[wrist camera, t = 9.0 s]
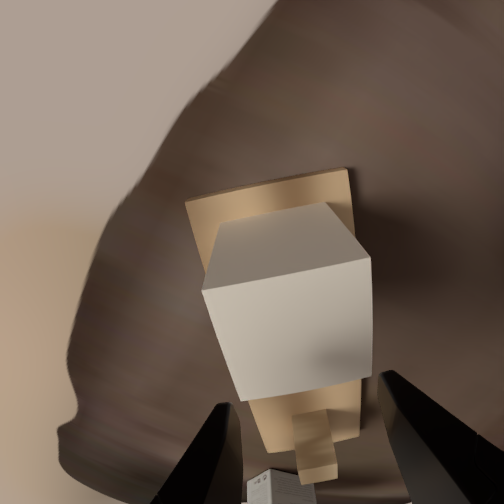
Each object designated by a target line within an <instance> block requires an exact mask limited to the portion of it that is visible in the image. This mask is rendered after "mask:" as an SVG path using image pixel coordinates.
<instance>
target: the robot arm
mask: <svg viewBox="0 0 504 504" xmlns="http://www.w3.org/2000/svg"><path fill="white" fill-rule="evenodd" d="M377 395H378V400H379V404H380V407H381V411H382V415H383V419H384V423H385V427H386V431H387V435H388V438H389V442H390V445H391V448H392V450H393V453H394V455H395V458H396V461H397V463H398V466H399V468H400V471H401V474H402V476H403V479H404V482H405V485H406V487H407V490H408V493H409V495H410V498H411V501H412V504H504V451H502V450H500V449H499V448H497V447H496V446H494V445H493V444H492V443H490V442H489V441H487V440H486V439H485V438H483V437H482V436H481V435H479V434H478V435H477V433H476V432H475V431H474V430H472V429H471V428H470V427H468V426H467V425H466V424H464V423H463V422H462V421H460V420H459V419H458V418H456V417H455V416H454V415H452V414H451V413H450V412H448V411H447V410H446V409H444V408H443V407H442V406H440V405H439V404H438V403H436V402H435V401H434V400H432V399H431V398H430V397H428V396H427V395H426V394H424V393H423V392H422V391H421V390H419V389H418V388H417V387H415V386H414V385H413V384H411V383H410V382H409V381H407V380H406V379H405V378H403V377H402V376H401V375H399V374H398V373H397V372H395V371H394V370H389V371H385V372H381V373H380V374H379V376H378V389H377ZM242 484H243V458H242V444H241V430H240V421H239V418H238V415H237V413H236V411H235V408H234V406H233V404H232V403H231V402H225V403H218V404H217V405H216V406H215V407H214V409H213V410H212V412H211V414H210V415H209V417H208V418H207V420H206V421H205V423H204V424H203V426H202V427H201V429H200V431H199V432H198V434H197V435H196V437H195V438H194V440H193V441H192V443H191V444H190V446H189V447H188V449H187V450H186V452H185V453H184V455H183V456H182V458H181V459H180V461H179V462H178V464H177V465H176V467H175V468H174V470H173V471H172V472H171V474H170V475H169V477H168V478H167V480H166V481H165V483H164V484H163V485H162V487H161V488H160V490H159V491H158V493H157V495H155V497H154V498H153V500H152V501H151V502H150V504H241V499H242Z"/></svg>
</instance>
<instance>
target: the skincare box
mask: <svg viewBox="0 0 504 504" xmlns="http://www.w3.org/2000/svg"><path fill="white" fill-rule="evenodd" d="M247 504H316V496H315V489H314V483H311V484H305V485H301V482H300V478H299V475H295V474H290V473H286V472H282V471H277V470H273V469H269V470H267V471H265V472H263V473H262V474H260V475H258V476H257V477H255V478H253V479H251V480H249V481H248V482H247Z"/></svg>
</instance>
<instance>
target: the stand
mask: <svg viewBox="0 0 504 504" xmlns="http://www.w3.org/2000/svg"><path fill="white" fill-rule="evenodd" d="M321 202H325V203H326V204H327V205H328V206H329V207H330V208H331V210H332V211H333V212H334V213H335V214H336V215H337V217H338V218H339V219H340V220H341V221H342V223H343V224H344V225H345V226H346V227H347V229H348V230H349V231H350V232H351V233H352V235H353V236H354V237H355V228H354V219H353V210H352V201H351V193H350V186H349V178H348V171H347V169H345V168H344V167H340V168H334V169H328V170H322V171H317V172H311V173H306V174H300V175H295V176H289V177H284V178H279V179H274V180H269V181H264V182H259V183H254V184H250V185H245V186H240V187H236V188H231V189H227V190H222V191H218V192H213V193H209V194H205V195H200V196H196V197H192V198H188V199H187V200H186V201H185V205H186V209H187V212H188V216H189V219H190V223H191V226H192V230H193V233H194V237H195V240H196V243H197V247H198V250H199V253H200V257H201V260H202V263H203V267H204V270H205V273H206V272H207V268H208V265H209V261H210V257H211V254H212V250H213V247H214V243H215V239H216V236H217V232H218V229H219V225H220V223H221V222H226V221H230V220H235V219H240V218H245V217H250V216H254V215H259V214H264V213H269V212H274V211H279V210H284V209H290V208H295V207H300V206H305V205H310V204H316V203H321ZM248 402H249V404H250V407H251V410H252V413H253V415H254V418H255V421H256V423H257V426H258V429H259V431H260V434H261V437H262V439H263V442H264V444H265V447H266V450H267V452H268V453H274V452H281V451H288V450H295V453H296V462H297V471H298V475H299V478H300V482H301V485H305V484H311V483H316V482H322V481H327V480H332V479H337V478H338V470H337V459H336V455H335V450H334V445H333V442H337V441H341V440H346V439H350V438H354V437H358V436H359V430H360V409H361V379H358V380H354V381H350V382H346V383H342V384H337V385H333V386H328V387H323V388H319V389H314V390H309V391H303V392H298V393H292V394H287V395H281V396H274V397H268V398H261V399H254V400H248Z"/></svg>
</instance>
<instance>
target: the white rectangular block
mask: <svg viewBox="0 0 504 504" xmlns="http://www.w3.org/2000/svg"><path fill="white" fill-rule="evenodd" d="M202 293H203V296H204V299H205V303H206V306H207V309H208V311H209V314H210V317H211V320H212V323H213V326H214V329H215V332H216V335H217V338H218V341H219V343H220V346H221V349H222V352H223V355H224V357H225V360H226V363H227V366H228V368H229V371H230V374H231V377H232V379H233V382H234V385H235V387H236V390H237V393H238V395H239V398H240V400H241V401H246V400H254V399H261V398H268V397H274V396H281V395H287V394H292V393H298V392H303V391H309V390H314V389H319V388H323V387H328V386H333V385H337V384H342V383H346V382H350V381H354V380H358V379H362V378H366V377H370V376H371V375H372V336H373V314H372V275H371V257H370V256H369V255H368V253H367V252H366V251H365V250H364V248H363V247H362V246H361V245H360V243H359V242H358V241H357V240H356V238H355V237H354V236H353V235H352V233H351V232H350V231H349V230H348V229H347V227H346V226H345V225H344V224H343V223H342V221H341V220H340V219H339V218H338V217H337V215H336V214H335V213H334V212H333V211H332V210H331V208H330V207H329V206H328V205H327V204H326V203H325V202H321V203H316V204H310V205H305V206H300V207H295V208H290V209H284V210H279V211H274V212H269V213H264V214H259V215H254V216H250V217H245V218H240V219H235V220H230V221H226V222H221V223H220V225H219V229H218V232H217V236H216V239H215V243H214V247H213V250H212V254H211V257H210V261H209V265H208V268H207V272H206V276H205V279H204V283H203V287H202Z"/></svg>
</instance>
